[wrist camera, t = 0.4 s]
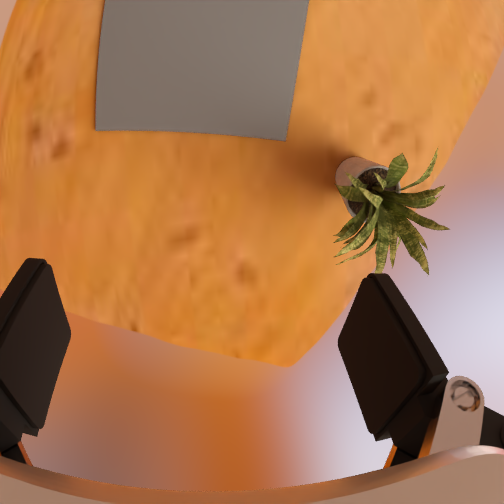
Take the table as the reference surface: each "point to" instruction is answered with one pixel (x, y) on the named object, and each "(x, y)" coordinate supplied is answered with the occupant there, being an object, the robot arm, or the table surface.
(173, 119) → the mat
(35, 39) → the table surface
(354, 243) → the house plant
